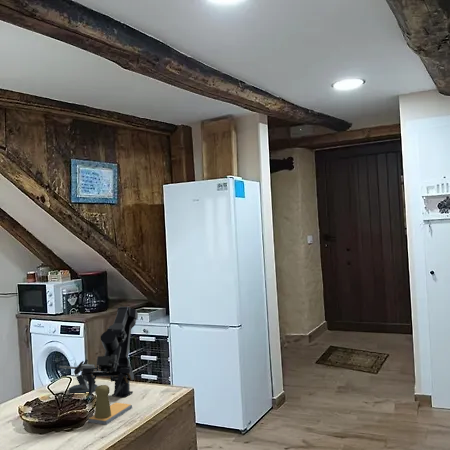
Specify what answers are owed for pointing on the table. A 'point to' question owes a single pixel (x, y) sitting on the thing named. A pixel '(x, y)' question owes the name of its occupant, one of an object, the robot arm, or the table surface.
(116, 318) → the robot arm
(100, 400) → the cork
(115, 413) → the floor panel
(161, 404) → the table surface
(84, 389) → the gun turret
